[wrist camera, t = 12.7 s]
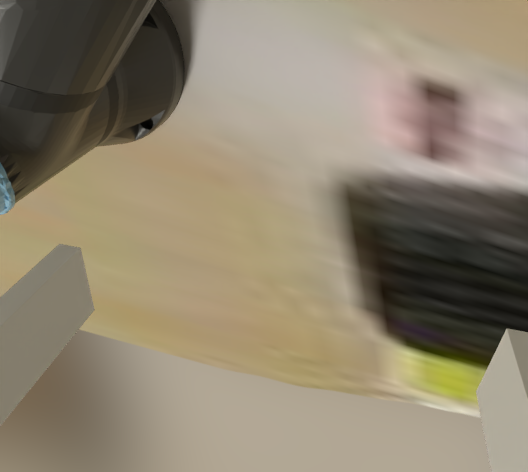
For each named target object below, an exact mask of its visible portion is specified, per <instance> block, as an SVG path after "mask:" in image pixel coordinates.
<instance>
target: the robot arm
mask: <svg viewBox="0 0 528 472" xmlns="http://www.w3.org/2000/svg"><path fill="white" fill-rule="evenodd" d="M183 81H184V61H183V53H182V48H181V44H180V41H179V37H178V35H177V32H176V29H175V27H174V25H173V23H172V20H171V18H170V17H169V15H168V13H167V11H166V10H165V8H164V7H163V5H162V4H161V3H160V1H159V0H0V215H1V214H5V213H7V212H8V211H9V210H11V209H12V207H14V204H15V203H16V202H18V201H19V200H20V199H22V198H23V197H25V196H26V195H28V194H29V193H30V192H32V191H33V190H35V189H36V188H38V187H39V186H40V185H42V184H43V183H45V182H46V181H48V180H49V179H50V178H52V177H53V176H55V175H56V174H58V173H59V172H60V171H62V170H63V169H65V168H66V167H68V166H69V165H70V164H72V163H73V162H75V161H76V160H78V159H79V158H80V157H82V156H83V155H85V154H86V153H88V152H89V151H90V150H92V149H93V148H95V147H97V146H106V145H115V144H124V143H129V142H133V141H136V140H139V139H141V138H143V137H145V136H147V135H149V134H150V133H151V132H153V131H154V130H155V129H157V128H158V127H159V126H160V125H162V124H163V123H164V122H165V121H166V120H167V119H168V118H169V117H170V115H171V114H172V112H173V111H174V109H175V107H176V105H177V103H178V101H179V98H180V95H181V92H182V87H183ZM93 311H94V306H93V301H92V297H91V292H90V288H89V284H88V279H87V275H86V270H85V266H84V261H83V257H82V252H81V248H79V247H74V246H68V245H63V244H59V245H58V246H57V247H55V248H54V249H53V250H52V251H51V252H50V253H49V254H48V255H47V256H46V257H44V258H43V259H42V260H41V261H40V262H39V263H38V264H37V265H36V266H35V267H33V268H32V269H31V270H30V271H29V272H28V273H27V274H26V275H25V276H24V277H22V278H21V279H20V280H19V281H18V282H17V283H16V284H15V285H14V286H13V287H11V288H10V289H9V290H8V291H7V292H6V293H5V294H4V295H3V296H2V297H0V426H1V425H2V424H3V422H4V421H5V420H6V419H7V417H8V416H9V415H10V414H11V412H12V411H13V410H14V409H15V407H16V406H17V405H18V404H19V402H20V401H21V400H22V399H23V397H24V396H25V395H26V394H27V392H28V391H29V390H30V389H31V388H32V386H33V385H34V384H35V383H36V382H37V380H38V379H39V378H40V377H41V375H42V374H43V373H44V372H45V370H46V369H47V368H48V367H49V365H50V364H51V363H52V362H53V360H54V359H55V358H56V357H57V356H58V354H59V353H60V352H61V351H62V349H63V348H64V347H65V346H66V344H67V343H68V342H69V341H70V339H71V338H72V337H73V336H74V335H75V333H76V332H77V331H78V330H79V328H80V327H81V326H82V325H83V323H84V322H85V321H86V320H87V318H88V317H89V316H90V315H91V314H92V312H93ZM476 393H477V399H478V404H479V410H480V415H481V420H482V425H483V431H484V436H485V442H486V447H487V452H488V458H489V463H490V468H491V472H528V332H522V331H517V330H512V329H506V331H505V333H504V335H503V337H502V340H501V342H500V344H499V346H498V348H497V350H496V352H495V354H494V356H493V358H492V360H491V362H490V364H489V366H488V368H487V370H486V372H485V374H484V377H483V379H482V381H481V383H480V385H479V387H478V389H477V391H476Z"/></svg>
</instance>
